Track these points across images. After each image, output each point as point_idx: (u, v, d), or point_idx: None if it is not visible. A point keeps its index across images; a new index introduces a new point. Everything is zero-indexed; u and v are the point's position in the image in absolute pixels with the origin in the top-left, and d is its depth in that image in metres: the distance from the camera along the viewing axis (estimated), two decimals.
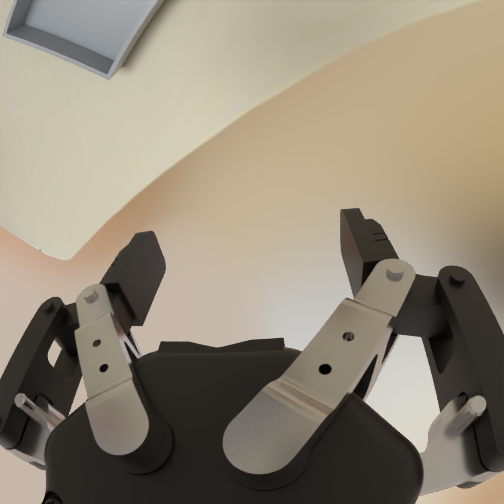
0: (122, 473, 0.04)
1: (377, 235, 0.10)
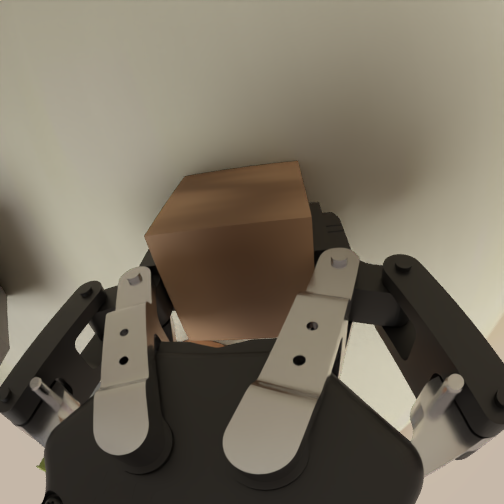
0: (122, 473, 0.04)
1: (333, 227, 0.11)
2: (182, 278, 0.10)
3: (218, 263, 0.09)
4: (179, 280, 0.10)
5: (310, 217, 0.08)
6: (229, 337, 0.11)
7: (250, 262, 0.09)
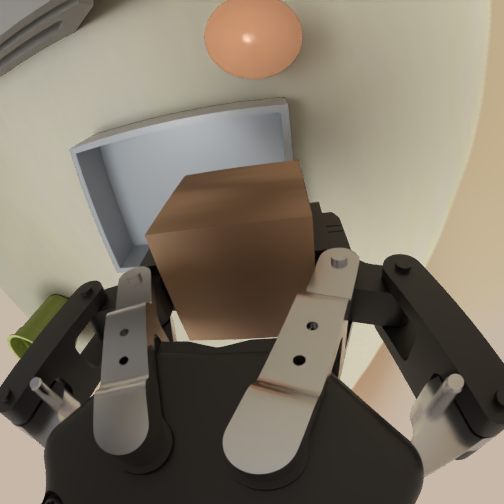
0: (122, 473, 0.04)
1: (333, 227, 0.11)
2: (182, 277, 0.10)
3: (218, 262, 0.09)
4: (179, 279, 0.10)
5: (311, 216, 0.08)
6: (230, 336, 0.11)
7: (251, 261, 0.09)
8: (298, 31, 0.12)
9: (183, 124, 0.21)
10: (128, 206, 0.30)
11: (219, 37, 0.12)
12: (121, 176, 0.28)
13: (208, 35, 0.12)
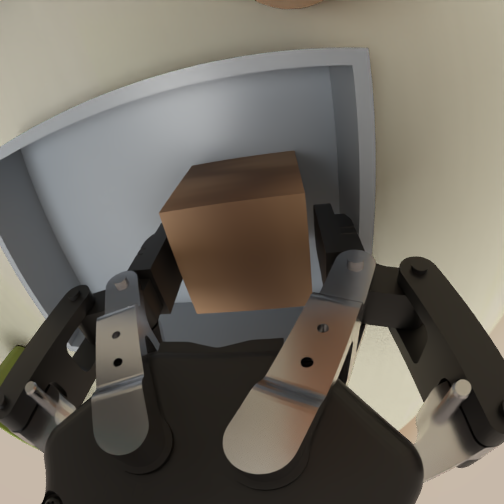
0: (122, 473, 0.04)
1: (346, 229, 0.11)
2: (191, 251, 0.11)
3: (223, 236, 0.10)
4: (189, 253, 0.11)
5: (303, 193, 0.09)
6: (234, 308, 0.13)
7: (252, 235, 0.10)
8: None
9: (127, 99, 0.08)
10: (75, 251, 0.18)
11: None
12: (58, 204, 0.16)
13: None
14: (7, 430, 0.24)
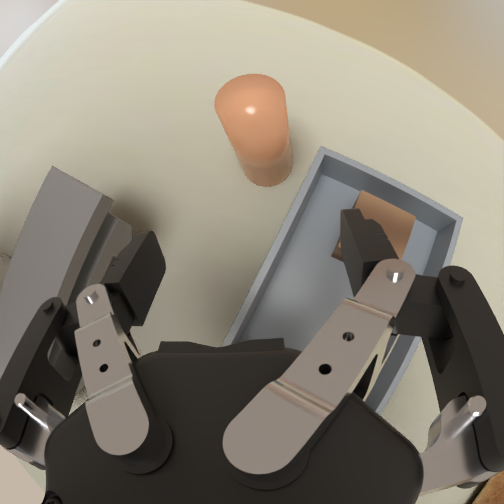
0: (122, 473, 0.04)
1: (377, 235, 0.10)
2: None
3: None
4: None
5: (361, 190, 0.22)
6: (401, 252, 0.21)
7: (368, 218, 0.22)
8: (263, 76, 0.19)
9: (286, 229, 0.23)
10: None
11: (235, 115, 0.19)
12: None
13: (229, 121, 0.19)
14: None
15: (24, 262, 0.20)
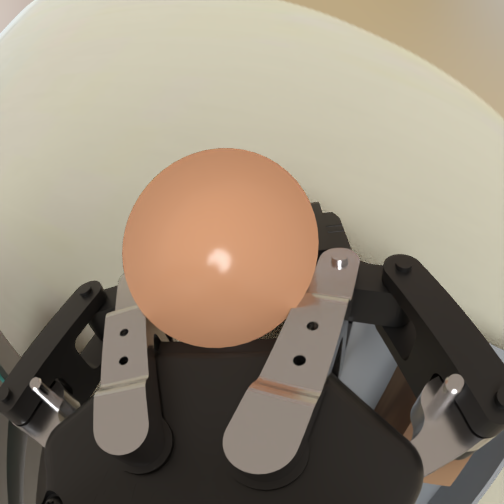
0: (122, 473, 0.04)
1: (334, 227, 0.11)
2: None
3: None
4: None
5: None
6: (466, 460, 0.09)
7: None
8: (251, 158, 0.07)
9: None
10: None
11: (176, 304, 0.07)
12: None
13: (160, 320, 0.07)
14: None
15: None
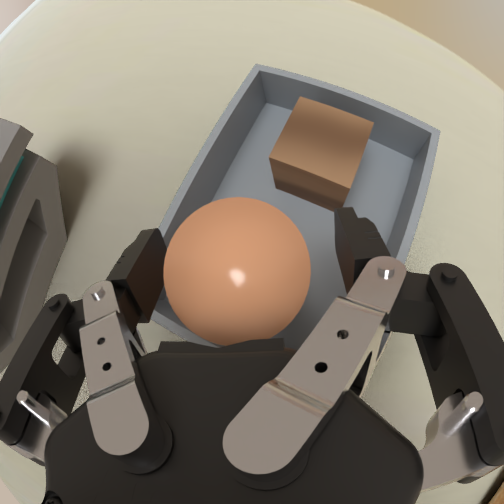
0: (122, 473, 0.04)
1: (370, 233, 0.10)
2: (301, 156, 0.17)
3: (302, 136, 0.17)
4: (301, 158, 0.17)
5: (300, 96, 0.17)
6: (356, 162, 0.16)
7: (309, 124, 0.17)
8: (263, 207, 0.10)
9: (209, 147, 0.18)
10: None
11: (207, 315, 0.10)
12: None
13: (195, 326, 0.10)
14: None
15: None
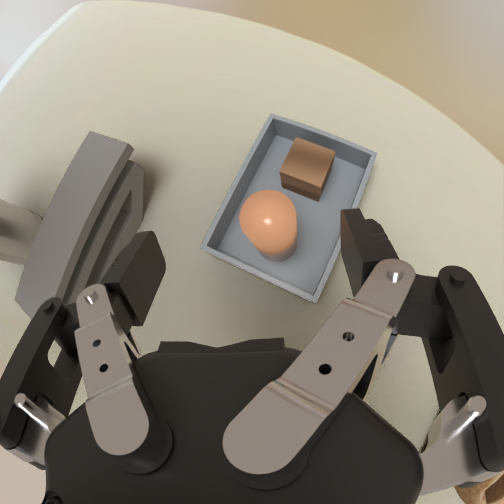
0: (122, 473, 0.04)
1: (377, 235, 0.10)
2: (296, 171, 0.33)
3: (296, 160, 0.33)
4: (296, 172, 0.33)
5: (296, 137, 0.33)
6: (324, 174, 0.32)
7: (300, 153, 0.33)
8: (278, 193, 0.26)
9: (246, 164, 0.35)
10: (278, 269, 0.36)
11: (257, 233, 0.26)
12: (253, 255, 0.37)
13: (252, 238, 0.26)
14: None
15: (66, 193, 0.32)
